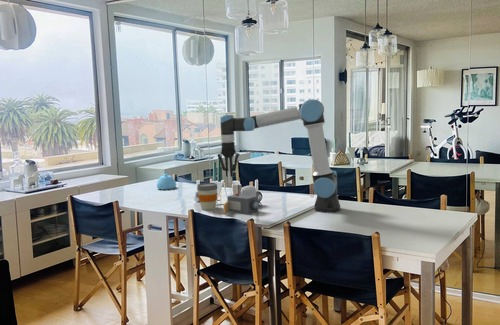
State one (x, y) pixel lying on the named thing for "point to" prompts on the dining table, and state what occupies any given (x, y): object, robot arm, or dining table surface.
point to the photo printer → (248, 190)
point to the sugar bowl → (166, 182)
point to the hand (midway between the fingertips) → (229, 182)
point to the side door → (226, 207)
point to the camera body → (243, 203)
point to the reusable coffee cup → (207, 195)
